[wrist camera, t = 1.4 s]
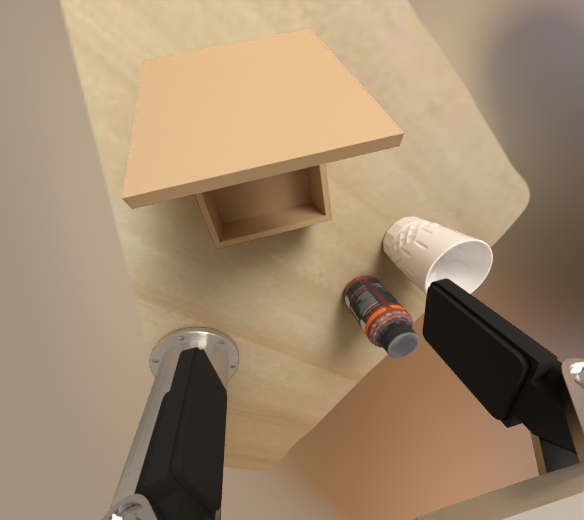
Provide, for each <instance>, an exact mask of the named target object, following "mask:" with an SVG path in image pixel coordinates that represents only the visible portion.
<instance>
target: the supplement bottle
mask: <svg viewBox="0 0 584 520" xmlns="http://www.w3.org/2000/svg"><path fill="white" fill-rule="evenodd" d="M344 300H345V302H346V304H347V306H348V308H349V309H350V311H351V312H352V314H353V315H354V317H355V318H356V320H357V321H358V323H359V325H360V326H361V328H362V329H363V331H364V333H365V334H366V335H367V337H368V339H369V340H370V341H371V342H372V343H373V344H374V345H376V346H378V347H383V348H384V349H385V350H386V351H387V353H388V354H389V355H390V356H391V357H393V358H401V357H404V356H407V355H409V354H410V353H412V352H413V351H414V350H415V349H416V347H417V345H418V344H419V337H418V335H417V334H416V333H415V332H414V330H413V329H412V326H413V321H412V318H411V316H410V314H409V313H408V312H407V311H406V310H405V309H404V308H403V306H402V305H401V304H400V303H399V302H398V301H397V300H396V299H395V298H394V297H393V296H392V295H391V294H390V293H389V292H388V291H387V290H386V289H385V288H384V287H383V286H382V284H381V283H380V282H379V281H377V280H376V279H375V278H373V277H371V276H361V277H358V278H356V279H354V280H353V281H351V282H350V283H349V284H348V286H347V287H346V289H345V291H344Z"/></svg>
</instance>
